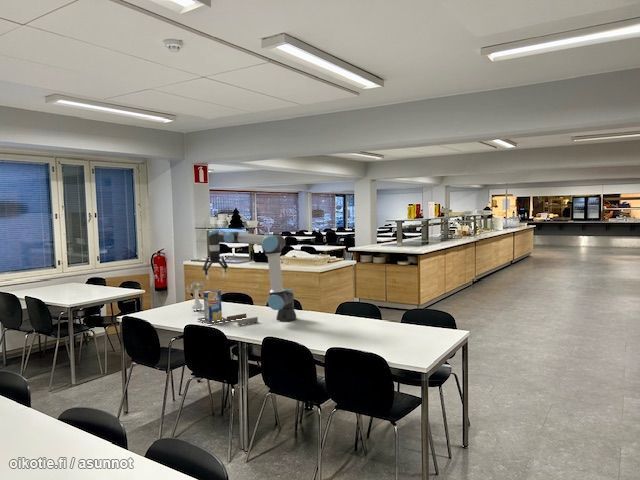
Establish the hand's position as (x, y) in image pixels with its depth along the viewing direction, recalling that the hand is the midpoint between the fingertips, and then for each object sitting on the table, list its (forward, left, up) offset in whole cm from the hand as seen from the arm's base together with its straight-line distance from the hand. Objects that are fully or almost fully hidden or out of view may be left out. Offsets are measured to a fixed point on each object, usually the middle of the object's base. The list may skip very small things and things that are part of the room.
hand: (215, 278), depth 354 cm
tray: (-2, +5, -32) cm, 33 cm away
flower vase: (+47, -3, -32) cm, 57 cm away
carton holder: (-20, -10, -32) cm, 39 cm away
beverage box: (-2, +4, -32) cm, 32 cm away
